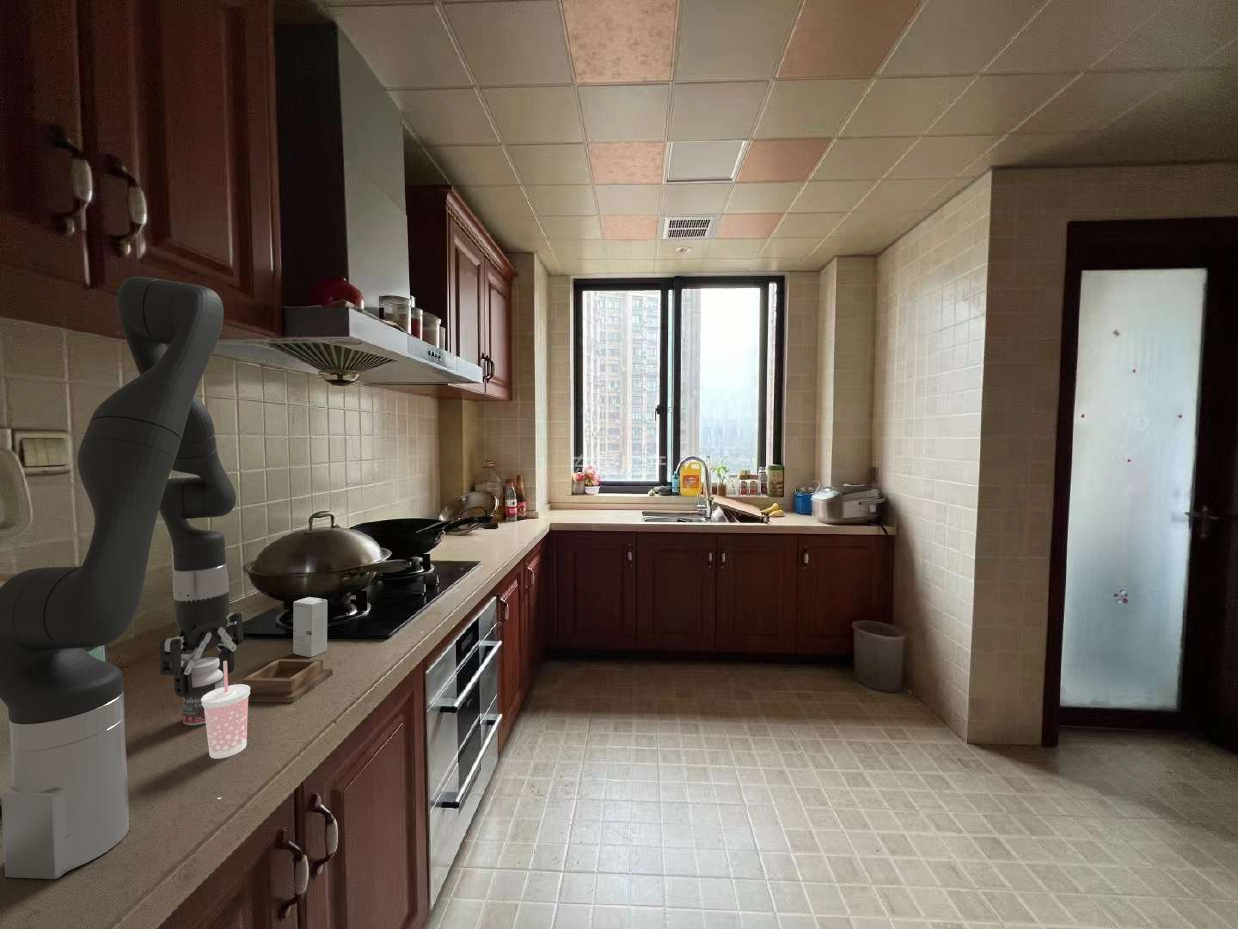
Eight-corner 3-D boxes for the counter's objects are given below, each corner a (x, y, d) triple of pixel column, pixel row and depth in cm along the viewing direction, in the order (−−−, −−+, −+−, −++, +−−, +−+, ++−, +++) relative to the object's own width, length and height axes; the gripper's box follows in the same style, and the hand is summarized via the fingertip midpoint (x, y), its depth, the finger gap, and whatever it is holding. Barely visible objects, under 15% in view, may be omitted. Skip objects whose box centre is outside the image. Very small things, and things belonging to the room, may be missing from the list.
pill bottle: (175, 729, 88) (173, 670, 87) (193, 712, 93) (190, 657, 93) (215, 724, 89) (213, 666, 89) (230, 708, 95) (228, 654, 94)
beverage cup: (214, 742, 84) (211, 656, 83) (258, 736, 85) (255, 651, 85) (195, 764, 78) (191, 672, 77) (242, 757, 80) (239, 666, 79)
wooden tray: (293, 702, 97) (292, 683, 96) (231, 701, 97) (230, 682, 97) (332, 674, 109) (332, 657, 108) (277, 673, 109) (276, 656, 109)
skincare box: (292, 654, 119) (290, 601, 119) (310, 647, 123) (308, 596, 123) (311, 658, 117) (310, 604, 117) (329, 650, 121) (327, 598, 121)
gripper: (185, 605, 83) (190, 705, 84) (254, 581, 98) (257, 666, 98) (141, 605, 84) (147, 703, 85) (216, 580, 98) (220, 665, 99)
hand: (206, 683), depth 92 cm, fingers open, 8 cm apart
